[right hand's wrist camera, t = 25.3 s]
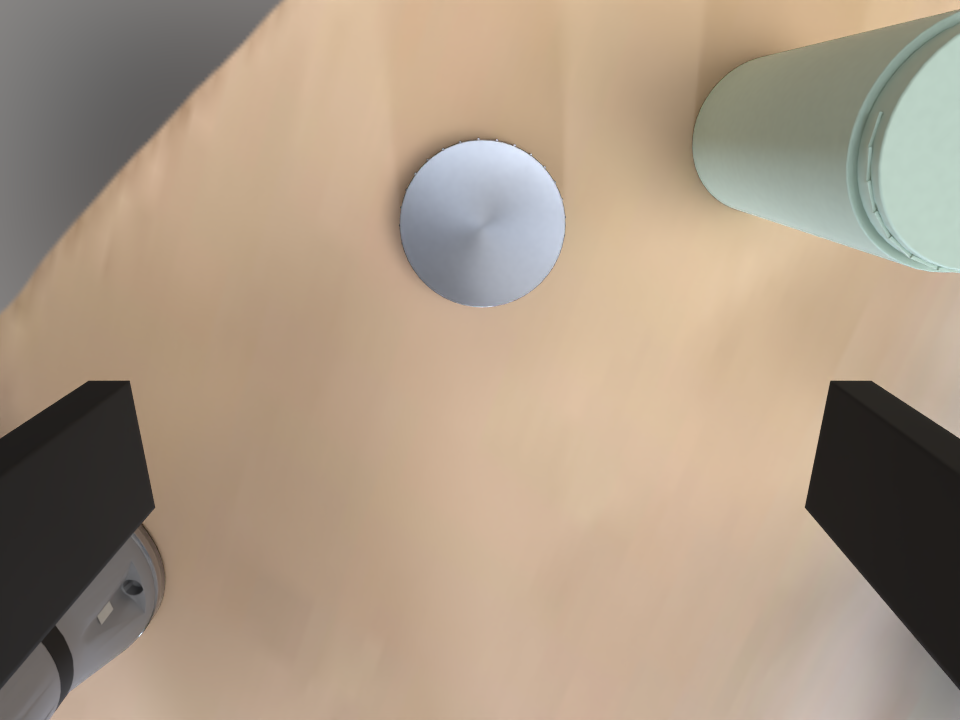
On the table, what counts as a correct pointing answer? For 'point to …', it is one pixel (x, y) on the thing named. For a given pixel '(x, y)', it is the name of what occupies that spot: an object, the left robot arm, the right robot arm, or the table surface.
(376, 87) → the table surface
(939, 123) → the jar
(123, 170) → the table surface
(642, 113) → the table surface
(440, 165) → the lid
